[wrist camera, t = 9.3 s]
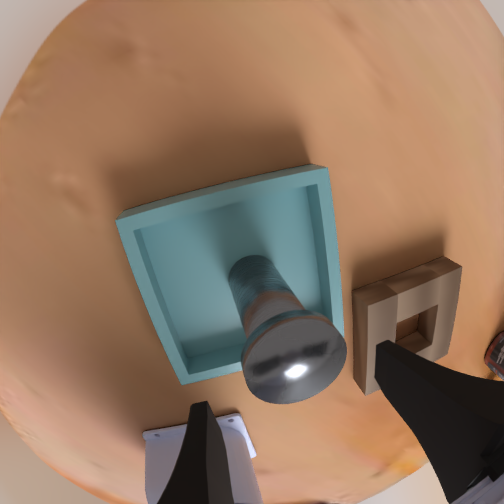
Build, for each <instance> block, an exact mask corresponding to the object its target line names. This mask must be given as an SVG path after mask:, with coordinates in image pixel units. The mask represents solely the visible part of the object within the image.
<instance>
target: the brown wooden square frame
mask: <svg viewBox="0 0 504 504" xmlns="http://www.w3.org/2000/svg"><path fill="white" fill-rule="evenodd" d="M461 273H462V266H460V265H459V264H457V263H455V262H453V261H452V260H450V259H448V258H446V257H444V256H443V257H441V258H438V259H436V260H433V261H431V262H428V263H426V264H423V265H421V266H418V267H415V268H413V269H410V270H408V271H405V272H402V273H400V274H397V275H394V276H392V277H389V278H386V279H383V280H381V281H378V282H375V283H372V284H369V285H367V286H364V287H361V288H358V289H355V290H352V304H353V337H354V380H355V382H356V383H357V385H358V386H359V388H360V389H361V390H362V392H363V393H364V395H365V396H366V395H368V394H371V393H373V392H375V391H377V390H379V389H380V387H379V385H378V383H377V381H376V380H375V378H374V374H375V355H376V345H377V344H379V343H381V342H383V341H386V340H390V341H392V342H394V343H396V344H398V345H400V346H401V347H403V348H405V349H407V350H409V351H411V352H413V353H415V354H417V355H419V356H421V357H423V358H425V359H427V360H430V361H432V362H434V361H436V360H438V359H440V358H441V357H443V356H445V355H447V354H448V350H449V345H450V341H451V336H452V331H453V326H454V321H455V315H456V309H457V303H458V296H459V289H460V282H461ZM418 313H419V322H418V330H417V332H415V333H412V334H410V335H408V336H406V337H404V338H402V339H400V340H397V341H395V338H396V325H397V323H398V322H400V321H403V320H405V319H407V318H409V317H412V316H414V315H416V314H418Z"/></svg>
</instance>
